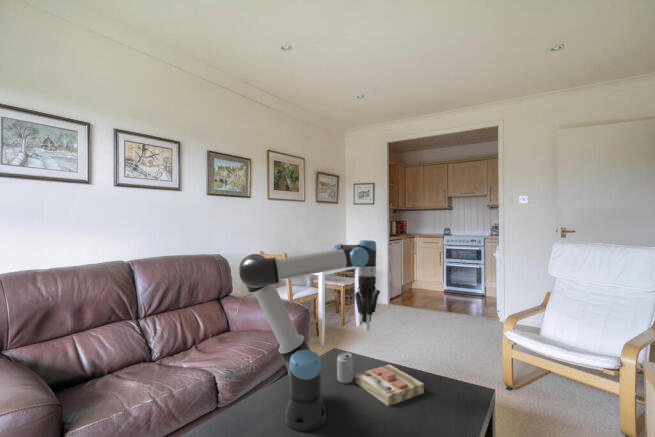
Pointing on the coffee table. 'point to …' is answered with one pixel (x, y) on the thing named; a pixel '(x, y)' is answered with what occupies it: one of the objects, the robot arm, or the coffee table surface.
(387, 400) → the board
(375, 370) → the button
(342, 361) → the can
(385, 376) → the button
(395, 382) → the button
